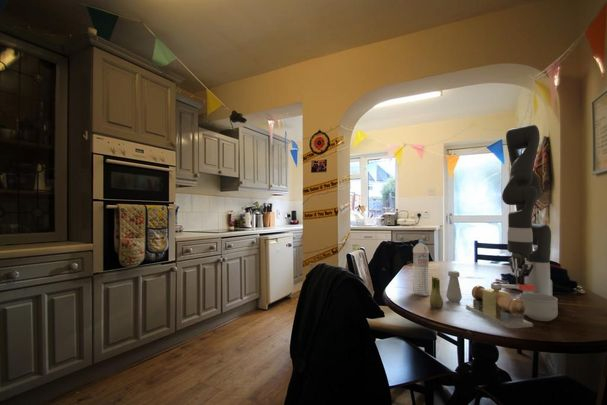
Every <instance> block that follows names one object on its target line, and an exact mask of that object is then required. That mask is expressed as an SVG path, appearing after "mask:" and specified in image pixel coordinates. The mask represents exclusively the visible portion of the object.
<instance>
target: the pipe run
mask: <svg viewBox="0 0 607 405" xmlns="http://www.w3.org/2000/svg"><path fill="white" fill-rule="evenodd" d="M471 296H472V298H473V300H472V304H465V308H466V309H467V310H469V311H471V312H473V311H474V313H475V314H478V315H480V316H482V317H485V318H487V319H488V320H490V321H493V322H495V323H497V324H499V325H501V326H504V327H506V328H507V329H519V328H520V329H522V328H534V323H533V322H531V321H528V320H526V319H524V312H525V303H524V302H523V301H522V300H520V298H516V297H515V298H511V296H512V294H511V292H508V291H505V290H495V289H491V288H485V287H484V286H481V285H476V286H474V287H473V288H472V289H471Z"/></svg>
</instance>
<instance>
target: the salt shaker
mask: <svg viewBox="0 0 607 405" xmlns="http://www.w3.org/2000/svg"><path fill="white" fill-rule="evenodd" d="M447 275H448V276H449V280H448V285H447V290H446V295H445V296H446V298H447V301H448V302H449V303H452V304H459V303H460V302H461V300H462V298H463V296H462V295H463V294H462V290H461V286H460V281H459V278H460V276H461V275H460V272H459V271H457V270H453V269H452V270H449V271H448V272H447Z"/></svg>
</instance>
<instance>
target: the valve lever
mask: <svg viewBox="0 0 607 405" xmlns="http://www.w3.org/2000/svg"><path fill="white" fill-rule="evenodd" d="M490 289H495V290H502V289H517V290H518V291H523V290H524V291H535V285H533V284H524V283H517V285H516V284H507V283H504V284H502V283H497V282H496V283H494V282H493V283H490ZM502 291H503V290H502Z"/></svg>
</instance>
